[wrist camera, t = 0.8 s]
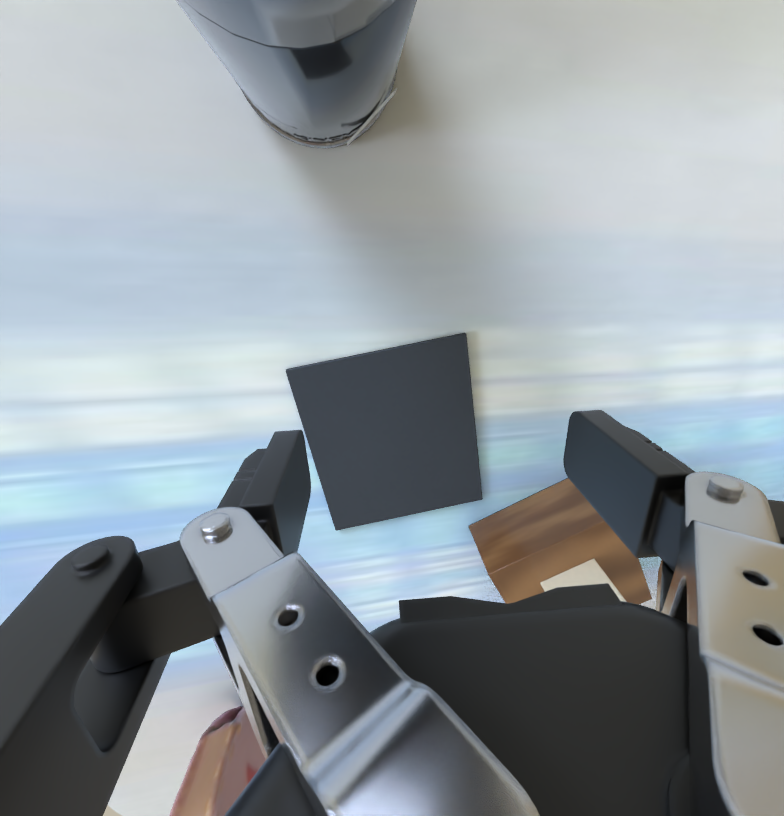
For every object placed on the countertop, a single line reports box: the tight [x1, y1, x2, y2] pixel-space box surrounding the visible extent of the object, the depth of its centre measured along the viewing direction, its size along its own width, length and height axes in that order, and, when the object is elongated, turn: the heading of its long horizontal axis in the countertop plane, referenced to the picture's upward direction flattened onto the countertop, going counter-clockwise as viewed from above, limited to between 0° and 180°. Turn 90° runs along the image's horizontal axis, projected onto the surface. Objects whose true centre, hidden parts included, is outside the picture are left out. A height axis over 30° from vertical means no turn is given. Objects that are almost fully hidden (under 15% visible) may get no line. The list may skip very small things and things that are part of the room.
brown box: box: [469, 478, 652, 605], centre depth 37 cm, size 12×12×6 cm
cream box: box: [540, 559, 626, 602], centre depth 31 cm, size 5×5×8 cm
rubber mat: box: [286, 333, 482, 530], centre depth 33 cm, size 16×14×1 cm
